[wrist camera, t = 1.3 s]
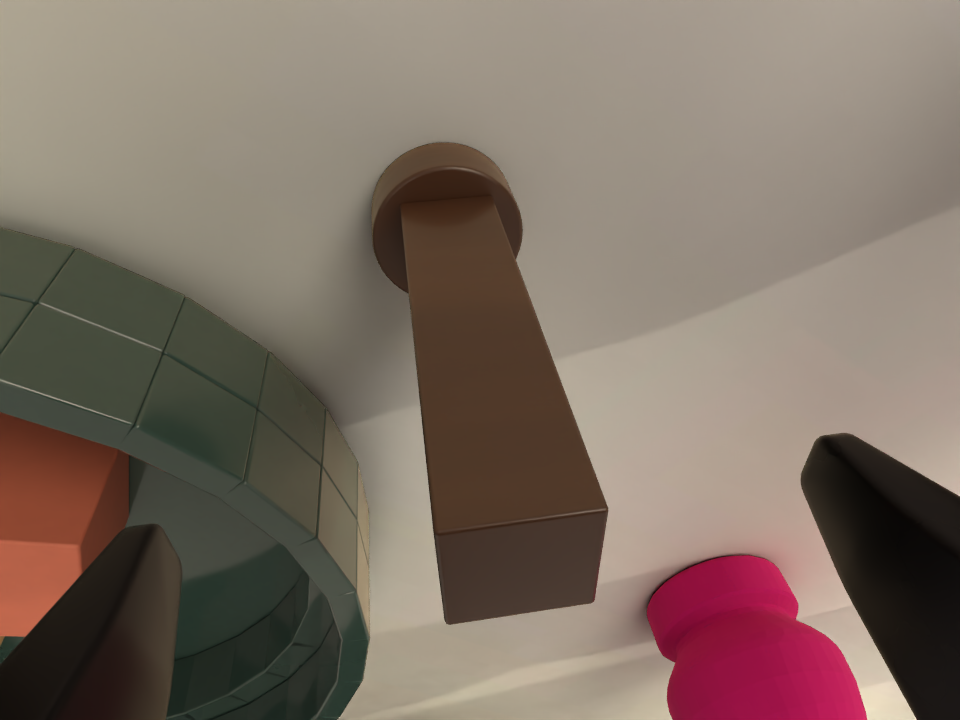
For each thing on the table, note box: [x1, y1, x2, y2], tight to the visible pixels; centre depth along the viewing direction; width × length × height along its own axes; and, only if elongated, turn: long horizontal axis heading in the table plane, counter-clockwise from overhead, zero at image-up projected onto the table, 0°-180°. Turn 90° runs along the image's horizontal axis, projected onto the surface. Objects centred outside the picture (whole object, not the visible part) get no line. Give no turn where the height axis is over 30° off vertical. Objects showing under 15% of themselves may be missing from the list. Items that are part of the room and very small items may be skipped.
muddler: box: [371, 142, 608, 625], centre depth 12 cm, size 3×3×10 cm
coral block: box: [0, 413, 129, 637], centre depth 16 cm, size 4×4×4 cm
